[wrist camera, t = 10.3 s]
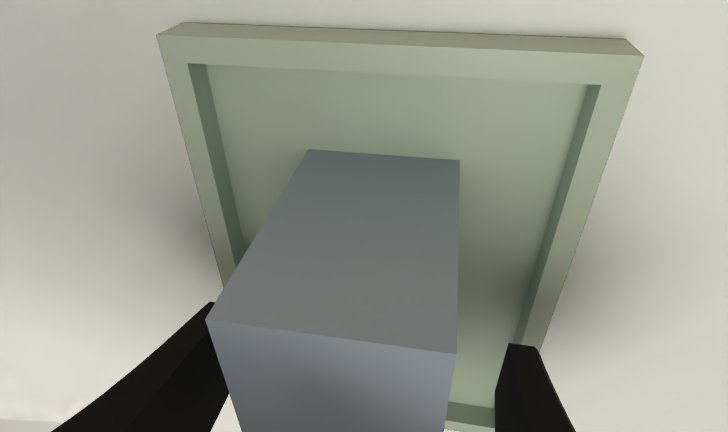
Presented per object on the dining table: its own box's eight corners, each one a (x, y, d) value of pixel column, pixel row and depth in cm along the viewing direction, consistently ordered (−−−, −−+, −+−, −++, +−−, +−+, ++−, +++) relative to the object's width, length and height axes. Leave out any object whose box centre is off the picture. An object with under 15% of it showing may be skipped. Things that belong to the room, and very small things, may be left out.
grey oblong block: (328, 355, 17) (275, 534, 12) (308, 149, 12) (204, 319, 7) (433, 370, 17) (420, 564, 12) (460, 160, 11) (456, 354, 7)
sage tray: (263, 371, 19) (252, 396, 18) (182, 22, 11) (156, 35, 10) (506, 410, 18) (508, 439, 17) (626, 39, 9) (644, 55, 9)
